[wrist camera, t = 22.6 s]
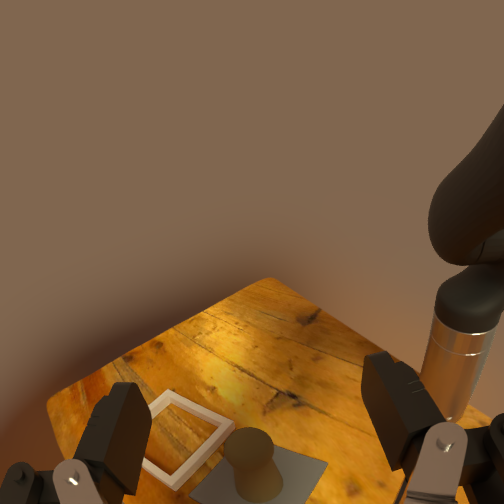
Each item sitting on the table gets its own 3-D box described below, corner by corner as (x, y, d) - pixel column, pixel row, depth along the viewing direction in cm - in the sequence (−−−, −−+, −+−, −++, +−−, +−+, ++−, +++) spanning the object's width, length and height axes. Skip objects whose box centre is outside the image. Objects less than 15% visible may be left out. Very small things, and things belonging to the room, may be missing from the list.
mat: (245, 434, 39) (244, 433, 39) (327, 464, 32) (328, 462, 31) (189, 496, 29) (188, 495, 29) (277, 542, 22) (277, 541, 21)
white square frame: (170, 396, 48) (167, 389, 47) (235, 427, 40) (233, 421, 40) (114, 443, 37) (109, 437, 36) (175, 491, 29) (171, 486, 29)
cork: (291, 473, 31) (286, 427, 27) (270, 509, 26) (259, 473, 22) (249, 460, 34) (235, 412, 30) (226, 492, 29) (205, 451, 25)
